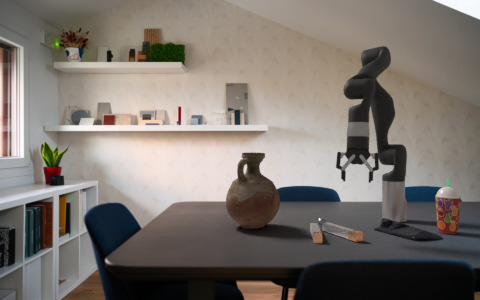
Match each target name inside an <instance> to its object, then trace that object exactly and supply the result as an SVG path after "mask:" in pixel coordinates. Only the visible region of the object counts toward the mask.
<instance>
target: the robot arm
mask: <svg viewBox="0 0 480 300" xmlns="http://www.w3.org/2000/svg"><path fill="white" fill-rule="evenodd" d="M360 61H361V62H360V63H361V68H360V69H359V71H358V72H357V73H356V74H355V75H353V76H351V77H350V78H349V79H347V80H346V82H345V83H344V86H343V95H344V97H345V98H346V99H348V100H362V101H361V102H360V103H359V104H356V105H352V106H350V107H348V114H347V116H348V117H347V120H348V121H347V128H346V151H345V152H341V151H338V152H337V154H336V163H335V168H336V169H338V170H340V171H341V172H340V176H341V177H340V178H341V179H340V180H342V182H346V177H347V176H346V175H347V174H346V173H347V172H346V169H347V168H348V167H349V166H350V164H351V165H359V166H360V165H361V166H362V165H365V167H366V168H367V169H368V170H369V171H368V183H369V184H371V182H373V180H374V172H375V171H378V170H379V169H380V165H379V163H380V164H381V165H383V166H393V167H392V170H391V171H389V172H386V173H384V174H382V177H381V180H382V181H381V186H382V187H381V191H382V192H381V193H382V195H381V197H382V199H381V202H382V203H381V205H382V206H381V208H382V209H381V210H382V211H381V213H382V214H381V218H387V219H390V220H393V221H396V222H400V223H403V222H408V220H407V209H408V208H407V205H408V204H407V201H408V200H407V199H406V175H407V163H408V162H407V158H408V153H407V152H408V151H407V149H406V148H407V147H406V146H405V145H404V144H401V143H400V144H399V143H397V144H396V143H393V144H390V143H389V140H388V139H389V137H388V136H389V135H388V134H389V130H390V128H391V127H392V124H393V122H394V120H395V118H396V109H395V104H394V103H395V101H394V99H393V97H392V96H391V95H390V93H389V92H388V91H387V90H386V89H385V88H384V87H383V86H382V85H381V84H380V82H378V77H379V76H380V75H381V74H382V73H383V72H384V71H386V70H387V69H388V68H389V67H390V65H391V63H392V56H391V52H390V49H389V48H388V46H384V45H382V46H377V47H373V48H372V47H371V48H368V49H364V50H363V51H362V52H361V53H360ZM370 109H371V110H370ZM370 111H371V115H372V119H373V124H374V125H373V126H374V130H375V131H374V132H375V138H376V149H377V152H373V153H372V152H371V153H370V135H371V134H370ZM344 156H345V158H346V159H347V160H346V162H345V163H344V164H343V165H341V161H342V159H343V158H344ZM370 157H372V160H374V166H373V167H372V166H371V165H370V163H369V162H368V159H369V158H370Z"/></svg>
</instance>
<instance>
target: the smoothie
mask: <svg viewBox="0 0 480 300" xmlns="http://www.w3.org/2000/svg"><path fill="white" fill-rule="evenodd" d="M449 180H450V179H448V178H446V186H443V187H441V188H439V189H438V191H437V192H436V194H435V195H434V196H435V197H434V198H435V209H436V211H435V213H436V227H437V230H438V232H439V233H440V234H442V235H456V234H457V232H458V231H459V226H460V225H459V222H460V214H461V213H460V211H461V198H462V196H460V194H459V191H457V189H456V188H454V187H452V186H449V185H450V181H449Z"/></svg>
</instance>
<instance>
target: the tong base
mask: <svg viewBox="0 0 480 300" xmlns="http://www.w3.org/2000/svg"><path fill="white" fill-rule="evenodd" d="M324 222H327V218H326V217H317V222H310V223H309V226H310V227H309V232H310V235H311V237H312V242H313V244H323V231H322V223H324Z"/></svg>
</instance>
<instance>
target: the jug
mask: <svg viewBox="0 0 480 300" xmlns="http://www.w3.org/2000/svg"><path fill="white" fill-rule="evenodd" d="M241 158H242V159H240V160H239V161H238V163H237V169H236V174H237V178H236V179H234V180H232V182H231V184H230V185H229V188H228V190H227V193H226V196H225V197H226V198H225V207H226V211H227V213H228V215H229V216H230V217H231V219H232V220H233V221H234V222H235V223H237V224H238V225H240V228H241V229H245V230H250V229H253V230H254V229H260V228H264V227H265V226H266V225H268V224H270V222H271V221H273V220H274V219H275V217H276V216H277V214H278V212H279V210H280V207H281V206H280V205H281V198H280V195H279V192H278V189H277V186H275V184H274V182H273V181H272V180H271V179H269V178H268V177H267V176H265V175H264V174H262V173H261V170H260V165H261V163H263V160H264V159H265V158H266V153H265V152H242V153H241ZM245 165H246V171H245V172H244V169H245Z"/></svg>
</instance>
